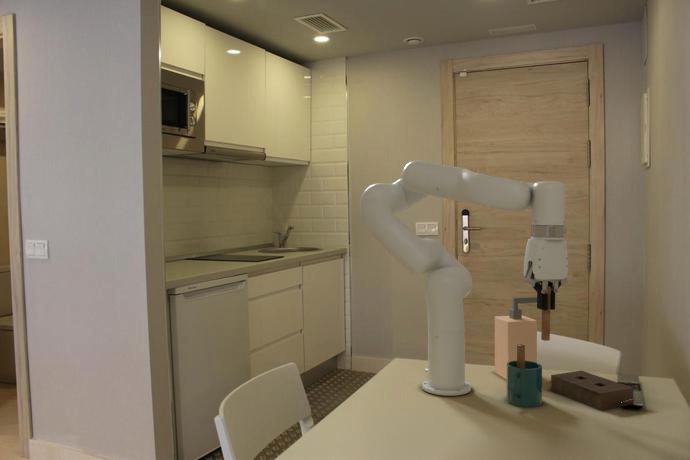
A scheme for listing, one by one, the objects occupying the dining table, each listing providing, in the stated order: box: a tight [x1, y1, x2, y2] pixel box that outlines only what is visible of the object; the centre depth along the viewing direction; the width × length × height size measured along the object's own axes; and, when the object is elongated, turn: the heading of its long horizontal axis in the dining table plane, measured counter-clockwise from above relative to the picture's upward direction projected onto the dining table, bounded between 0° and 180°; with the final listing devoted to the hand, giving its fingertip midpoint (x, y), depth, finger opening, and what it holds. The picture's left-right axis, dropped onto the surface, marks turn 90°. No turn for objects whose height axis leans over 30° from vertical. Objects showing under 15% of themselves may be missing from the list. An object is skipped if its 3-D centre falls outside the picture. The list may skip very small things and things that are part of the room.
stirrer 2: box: [540, 286, 551, 342], centre depth 139 cm, size 1×1×13 cm
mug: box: [506, 360, 543, 408], centre depth 139 cm, size 12×8×9 cm
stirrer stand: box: [550, 370, 634, 411], centre depth 143 cm, size 16×10×4 cm, turn 22°
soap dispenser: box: [494, 296, 538, 381], centre depth 162 cm, size 13×9×22 cm
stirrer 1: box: [517, 344, 525, 369], centre depth 141 cm, size 1×1×13 cm
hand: (545, 308), depth 139 cm, fingers closed on stirrer 2, 1 cm apart
